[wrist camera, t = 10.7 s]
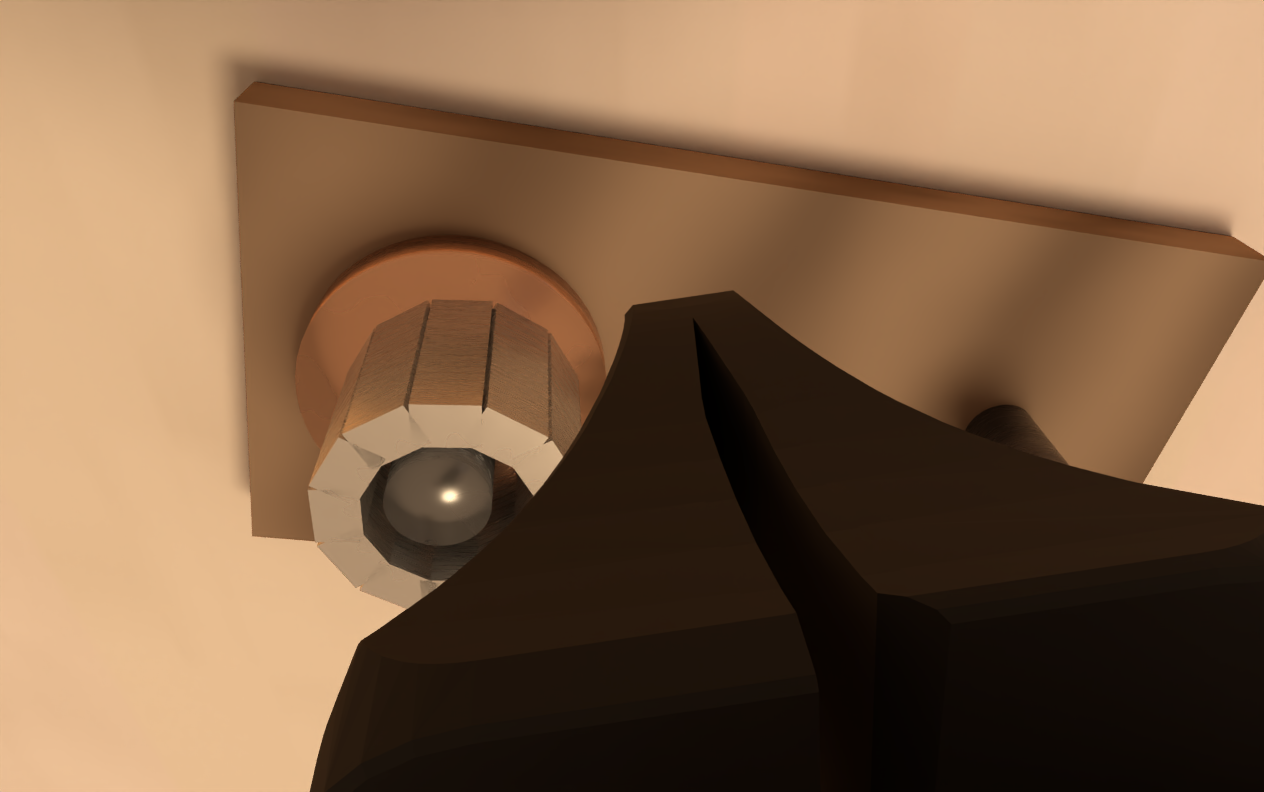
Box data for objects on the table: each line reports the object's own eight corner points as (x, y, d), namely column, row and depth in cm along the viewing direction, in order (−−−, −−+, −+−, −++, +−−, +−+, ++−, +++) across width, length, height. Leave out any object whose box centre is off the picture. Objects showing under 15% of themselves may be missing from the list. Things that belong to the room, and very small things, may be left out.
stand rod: (1024, 393, 23) (1106, 494, 20) (1039, 445, 24) (1120, 550, 20) (954, 422, 23) (1023, 527, 20) (971, 472, 24) (1040, 580, 21)
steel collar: (507, 261, 19) (498, 360, 15) (615, 436, 21) (628, 554, 18) (302, 361, 20) (252, 476, 16) (430, 519, 22) (409, 645, 19)
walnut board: (1233, 237, 23) (1274, 262, 21) (1048, 567, 28) (1071, 603, 27) (253, 81, 19) (233, 101, 18) (267, 498, 25) (252, 536, 23)
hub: (514, 180, 19) (505, 282, 15) (652, 421, 22) (676, 556, 18) (240, 318, 20) (165, 446, 16) (412, 526, 24) (385, 675, 20)
